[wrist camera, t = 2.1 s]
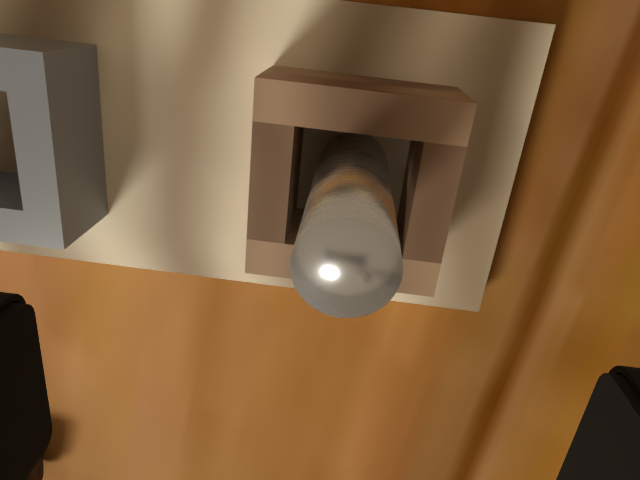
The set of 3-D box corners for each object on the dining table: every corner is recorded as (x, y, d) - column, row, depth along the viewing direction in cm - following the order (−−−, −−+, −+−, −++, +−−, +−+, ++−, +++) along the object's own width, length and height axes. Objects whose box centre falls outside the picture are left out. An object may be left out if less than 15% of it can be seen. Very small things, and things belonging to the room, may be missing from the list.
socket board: (543, 23, 21) (598, 28, 16) (472, 296, 27) (497, 362, 22) (-118, -52, 22) (-258, -69, 17) (-59, 228, 28) (-152, 277, 23)
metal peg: (392, 135, 22) (412, 224, 13) (381, 201, 24) (393, 324, 14) (322, 127, 22) (294, 210, 13) (315, 193, 24) (285, 310, 15)
